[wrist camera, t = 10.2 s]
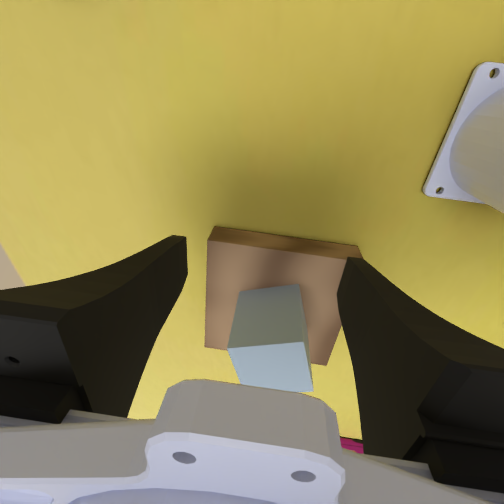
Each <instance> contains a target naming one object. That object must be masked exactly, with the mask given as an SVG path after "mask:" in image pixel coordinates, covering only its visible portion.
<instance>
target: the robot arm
mask: <svg viewBox="0 0 504 504" xmlns="http://www.w3.org/2000/svg"><path fill="white" fill-rule="evenodd" d="M492 69H495V74H494V76H493V77H492V78H490V77H489V74H490V72H491V70H492ZM439 187H441V190H440V191H439V192H437V193H436V189H437V188H439ZM423 193H424V194H425V195H427V196H430V197H437V198H445V199H452V200H460V201H467V202H475V203H482V204H488V205H489V206H491V207H493V208H495V209H496V210H498V211H500V212H502V213H504V63H495V62H484V63H481V64H479V65H478V66H477V67H476V68H475V70H474V71H473V73H472V76H471V78H470V80H469V83H468V85H467V87H466V90H465V92H464V94H463V97H462V99H461V101H460V103H459V106H458V108H457V110H456V113H455V115H454V117H453V120H452V122H451V124H450V127H449V129H448V131H447V134H446V136H445V138H444V141H443V143H442V145H441V147H440V150H439V152H438V154H437V157H436V159H435V161H434V164H433V166H432V168H431V171H430V173H429V175H428V178H427V180H426V182H425V185H424V187H423ZM187 275H188V268H187V244H186V237H184V236H176V235H172V236H170V237H167V238H165V239H163V240H161V241H160V242H158V243H156V244H154V245H152V246H150V247H148V248H146V249H144V250H142V251H140V252H138V253H136V254H134V255H132V256H130V257H127V258H125V259H123V260H121V261H119V262H116V263H114V264H111V265H109V266H106V267H103V268H100V269H97V270H94V271H91V272H88V273H84V274H81V275H77V276H74V277H70V278H66V279H62V280H57V281H53V282H48V283H43V284H37V285H32V286H25V287H18V288H12V289H5V290H0V504H504V349H503V348H501V347H498V346H496V345H494V344H492V343H490V342H487V341H485V340H483V339H481V338H479V337H477V336H475V335H473V334H471V333H469V332H467V331H465V330H463V329H461V328H459V327H457V326H455V325H454V324H452V323H450V322H448V321H446V320H445V319H443V318H441V317H439V316H438V315H436V314H435V313H433V312H431V311H430V310H428V309H427V308H425V307H424V306H422V305H421V304H419V303H418V302H416V301H415V300H413V299H412V298H411V297H409V296H408V295H407V294H405V293H404V292H403V291H401V290H400V289H399V288H398V287H396V286H395V285H394V284H393V283H391V282H390V281H389V280H388V279H387V278H385V277H384V276H383V275H382V274H381V273H380V272H378V271H377V270H376V269H375V268H374V267H372V266H371V265H370V264H369V263H368V262H366V261H365V260H364V259H362V258H356V257H347V261H346V264H345V267H344V270H343V274H342V277H341V280H340V283H339V287H338V290H337V303H338V311H339V316H340V319H341V323H342V327H343V331H344V334H345V338H346V342H347V345H348V349H349V352H350V356H351V360H352V365H353V370H354V377H355V383H356V390H357V397H358V405H359V413H360V422H361V431H362V440H363V452H364V454H360V453H356V452H353V451H350V450H348V449H345V448H342V447H341V442H340V435H339V429H338V423H337V417H336V413H335V412H334V411H333V410H332V409H331V408H330V407H329V406H328V405H327V404H326V403H325V402H323V401H322V400H320V399H318V398H315V397H312V396H309V395H306V394H302V393H298V392H291V391H284V390H277V389H270V388H263V387H256V386H249V385H242V384H235V383H228V382H221V381H214V380H208V379H192V380H184V381H181V382H179V383H177V384H175V385H173V386H171V387H169V388H168V389H167V392H166V394H165V397H164V399H163V402H162V404H161V407H160V410H159V412H158V415H157V417H156V419H139V420H137V419H130V418H127V416H128V413H129V410H130V407H131V404H132V401H133V398H134V396H135V393H136V390H137V387H138V384H139V382H140V379H141V376H142V374H143V371H144V368H145V366H146V363H147V361H148V358H149V355H150V353H151V351H152V348H153V346H154V343H155V341H156V338H157V336H158V334H159V332H160V330H161V328H162V327H163V325H164V323H165V321H166V319H167V317H168V316H169V314H170V312H171V310H172V308H173V307H174V305H175V303H176V301H177V299H178V297H179V295H180V293H181V291H182V289H183V286H184V283H185V281H186V278H187Z"/></svg>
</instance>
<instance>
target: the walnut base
mask: <svg viewBox="0 0 504 504" xmlns="http://www.w3.org/2000/svg"><path fill="white" fill-rule="evenodd" d="M347 257H356V258H362V259H363V257H362V255H361V253H360V251H359V248H358V246H352V245H345V244H337V243H330V242H323V241H316V240H309V239H302V238H294V237H287V236H280V235H273V234H266V233H259V232H251V231H244V230H237V229H230V228H223V227H216V226H214V228H213V230H212V232H211V234H210V236H209V238H208V240H207V276H206V312H205V347H207V348H214V349H220V350H227V346H228V341H229V336H230V332H231V327H232V323H233V318H234V313H235V309H236V304H237V300H238V295H239V291H247V290H255V289H262V288H270V287H278V286H286V285H294V284H299V287H300V293H301V298H302V303H303V309H304V314H305V319H306V325H307V331H308V341H309V351H310V361H311V363H312V364H318V365H325V366H326V365H327V363H328V360H329V357H330V355H331V352H332V349H333V347H334V344H335V341H336V339H337V336H338V333H339V331H340V328H341V325H342V323H341V319H340V316H339V311H338V303H337V290H338V287H339V283H340V280H341V277H342V274H343V270H344V267H345V264H346V261H347ZM227 351H228V350H227Z"/></svg>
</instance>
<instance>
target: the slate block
mask: <svg viewBox="0 0 504 504" xmlns="http://www.w3.org/2000/svg"><path fill="white" fill-rule="evenodd" d="M227 350H228V353H229V355H230V358H231V360H232V363H233V365H234V368H235V370H236V373H237V375H238V378H239V380H240V383H241V384H242V385H249V386H256V387H263V388H270V389H277V390H284V391H291V392H311V391H313V381H312V371H311V361H310V351H309V341H308V331H307V325H306V319H305V314H304V309H303V303H302V298H301V293H300V287H299V284H294V285H286V286H278V287H270V288H262V289H255V290H247V291H239V295H238V300H237V304H236V309H235V313H234V318H233V323H232V327H231V332H230V336H229V341H228V346H227Z"/></svg>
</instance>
